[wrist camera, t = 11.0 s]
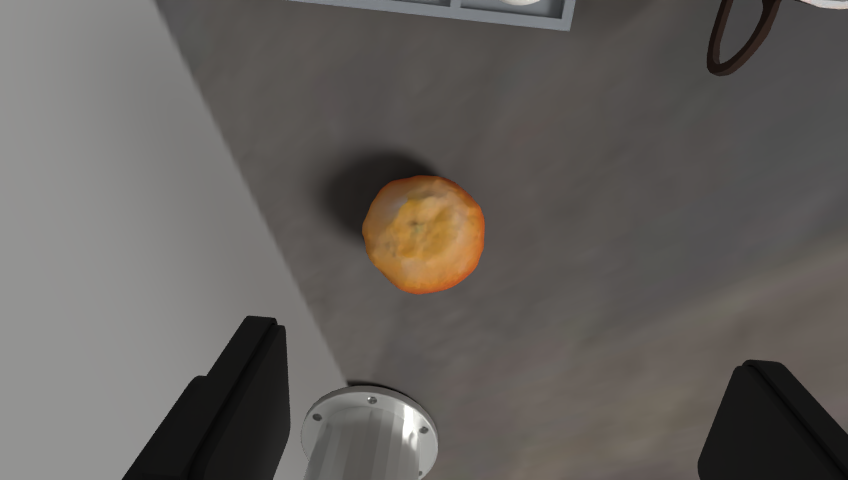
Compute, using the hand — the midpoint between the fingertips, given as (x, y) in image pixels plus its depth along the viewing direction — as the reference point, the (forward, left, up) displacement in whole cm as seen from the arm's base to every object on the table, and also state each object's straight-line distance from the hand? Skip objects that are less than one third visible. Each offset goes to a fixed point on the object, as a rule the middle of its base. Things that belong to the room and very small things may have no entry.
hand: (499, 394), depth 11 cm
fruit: (-8, +2, -27) cm, 28 cm away
